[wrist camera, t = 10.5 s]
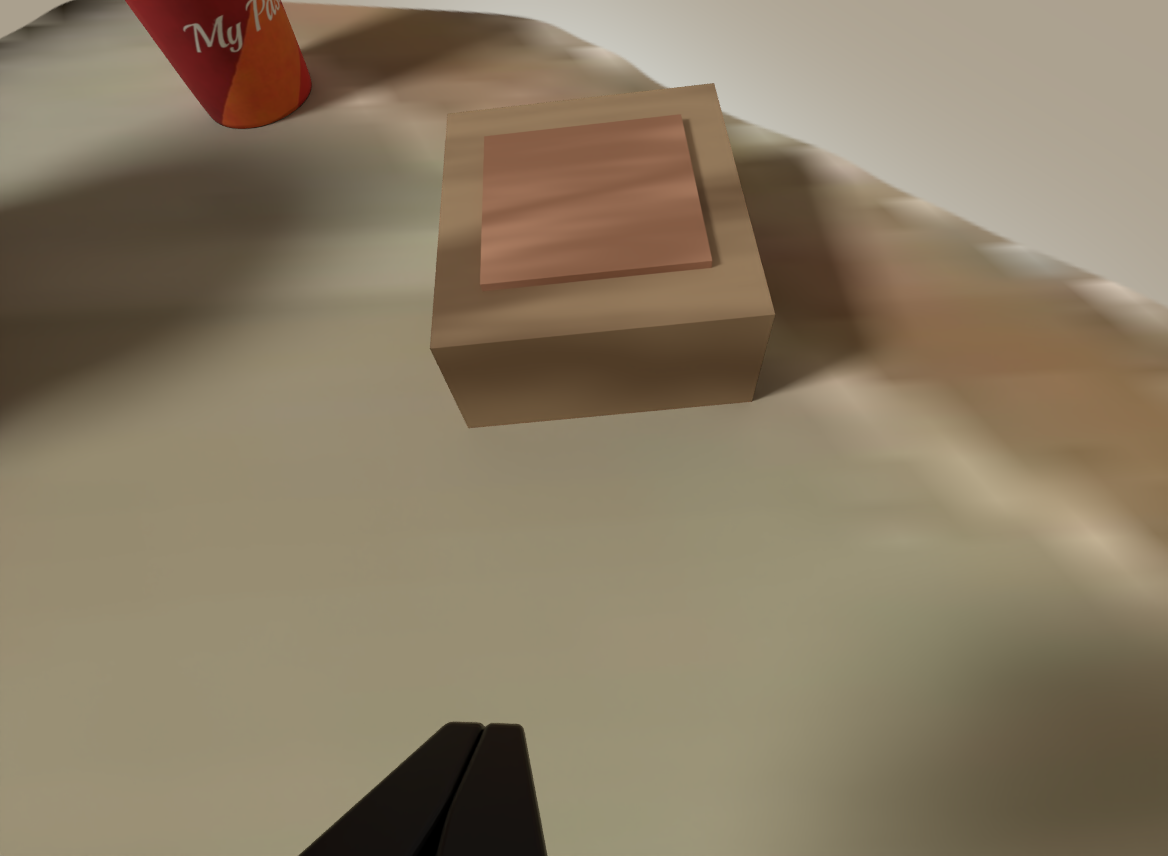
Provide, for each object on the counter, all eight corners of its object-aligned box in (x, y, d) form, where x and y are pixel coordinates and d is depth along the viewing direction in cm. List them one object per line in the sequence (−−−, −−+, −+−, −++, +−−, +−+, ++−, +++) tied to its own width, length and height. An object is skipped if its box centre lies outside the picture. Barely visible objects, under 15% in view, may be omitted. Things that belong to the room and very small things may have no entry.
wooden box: (777, 307, 18) (714, 75, 24) (426, 342, 19) (445, 106, 24) (750, 405, 23) (703, 192, 28) (470, 432, 23) (477, 216, 29)
